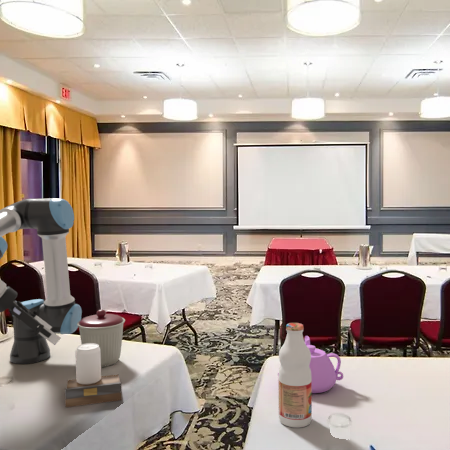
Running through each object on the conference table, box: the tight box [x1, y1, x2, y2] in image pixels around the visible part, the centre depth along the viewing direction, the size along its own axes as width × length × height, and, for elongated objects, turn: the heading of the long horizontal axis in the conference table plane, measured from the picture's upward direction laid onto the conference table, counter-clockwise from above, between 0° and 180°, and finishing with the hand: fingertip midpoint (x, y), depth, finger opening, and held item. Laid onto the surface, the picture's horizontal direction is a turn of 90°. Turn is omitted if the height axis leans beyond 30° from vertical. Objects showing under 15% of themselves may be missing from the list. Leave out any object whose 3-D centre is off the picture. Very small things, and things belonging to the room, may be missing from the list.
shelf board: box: [64, 373, 123, 408], centre depth 155 cm, size 16×17×6 cm
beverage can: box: [74, 343, 102, 385], centre depth 159 cm, size 8×8×12 cm
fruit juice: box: [277, 322, 313, 429], centre depth 134 cm, size 9×9×28 cm
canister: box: [77, 309, 126, 368], centre depth 183 cm, size 18×18×21 cm
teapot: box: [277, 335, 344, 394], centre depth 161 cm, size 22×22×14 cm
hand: (53, 335), depth 149 cm, fingers open, 13 cm apart
